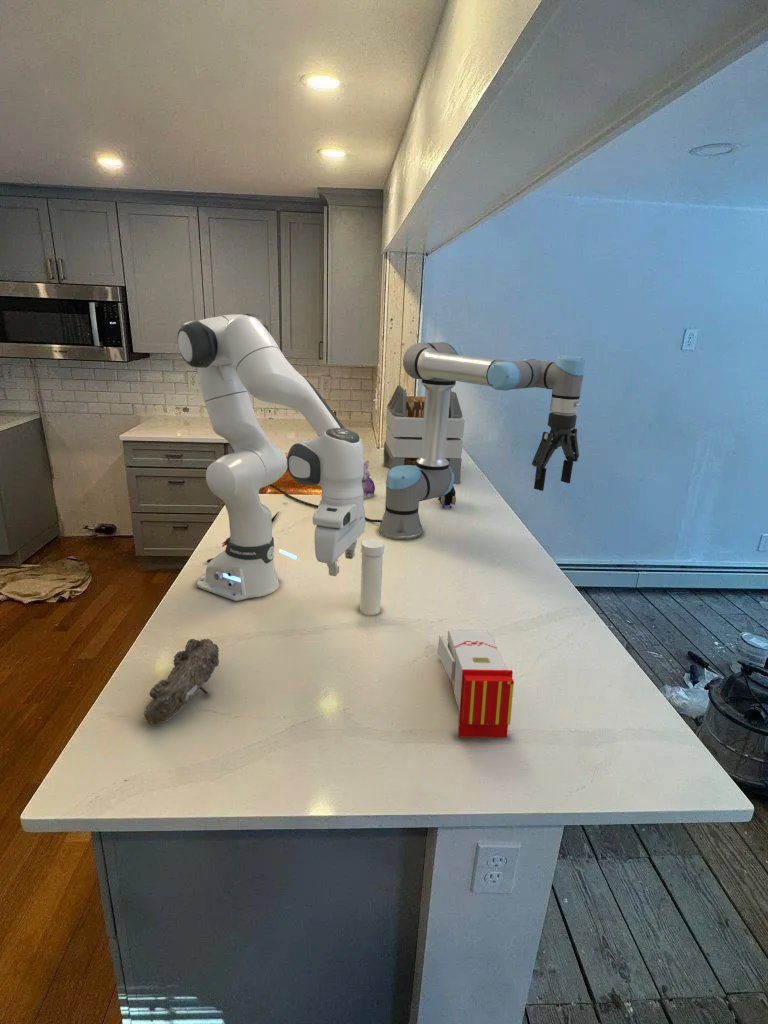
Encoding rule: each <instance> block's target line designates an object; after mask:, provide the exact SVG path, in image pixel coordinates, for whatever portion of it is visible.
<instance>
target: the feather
mask: <svg viewBox="0 0 768 1024" xmlns="http://www.w3.org/2000/svg"><path fill="white" fill-rule="evenodd" d="M278 514H279V512H277V513H276V514H275V515H274V516H272V524H273V523H274V521H275V520H276V518H277V516H278Z"/></svg>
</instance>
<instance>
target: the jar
mask: <svg viewBox="0 0 768 1024" xmlns="http://www.w3.org/2000/svg"><path fill="white" fill-rule="evenodd" d="M383 558H384V554H383V555H381V556H377V557H370V556H366V555H363V554H362V553H361V566H360V567H361V570H360V571H361V572H360V596H359V597H360V598H359V601H360V602H359V611H360V613H362V614H364V615H367V616H374V615H377V614H379V613H380V612H381V602H382V583H383V582H382V581H383V580H382V579H383V562H384V561H383V560H384V559H383Z"/></svg>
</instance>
